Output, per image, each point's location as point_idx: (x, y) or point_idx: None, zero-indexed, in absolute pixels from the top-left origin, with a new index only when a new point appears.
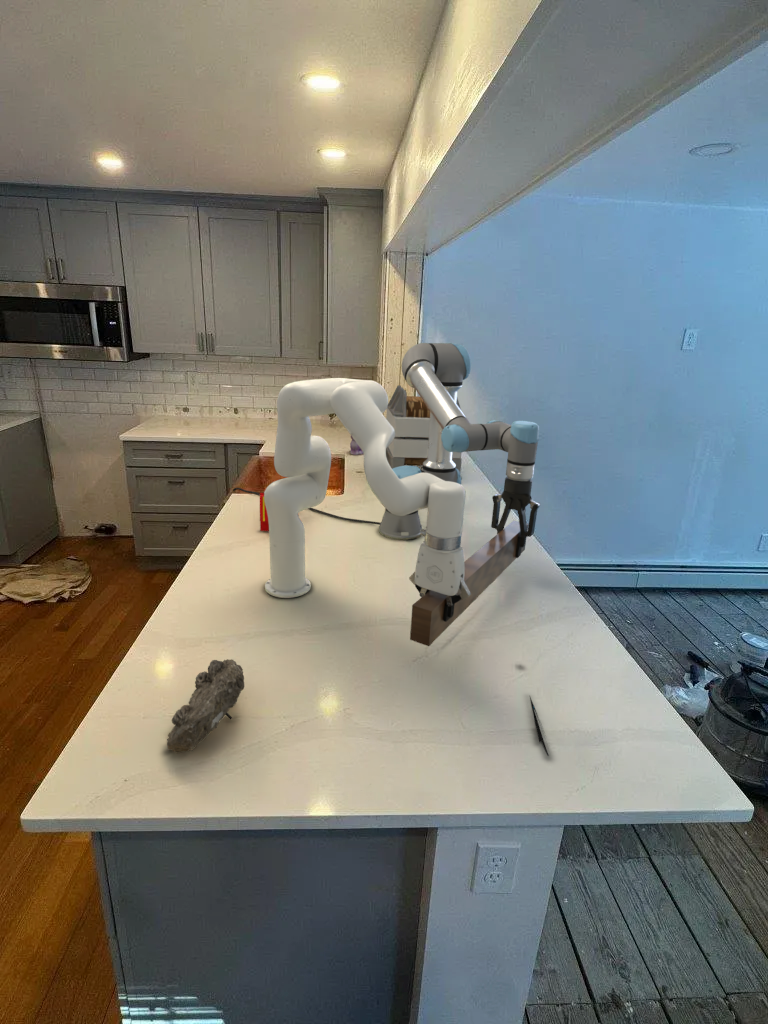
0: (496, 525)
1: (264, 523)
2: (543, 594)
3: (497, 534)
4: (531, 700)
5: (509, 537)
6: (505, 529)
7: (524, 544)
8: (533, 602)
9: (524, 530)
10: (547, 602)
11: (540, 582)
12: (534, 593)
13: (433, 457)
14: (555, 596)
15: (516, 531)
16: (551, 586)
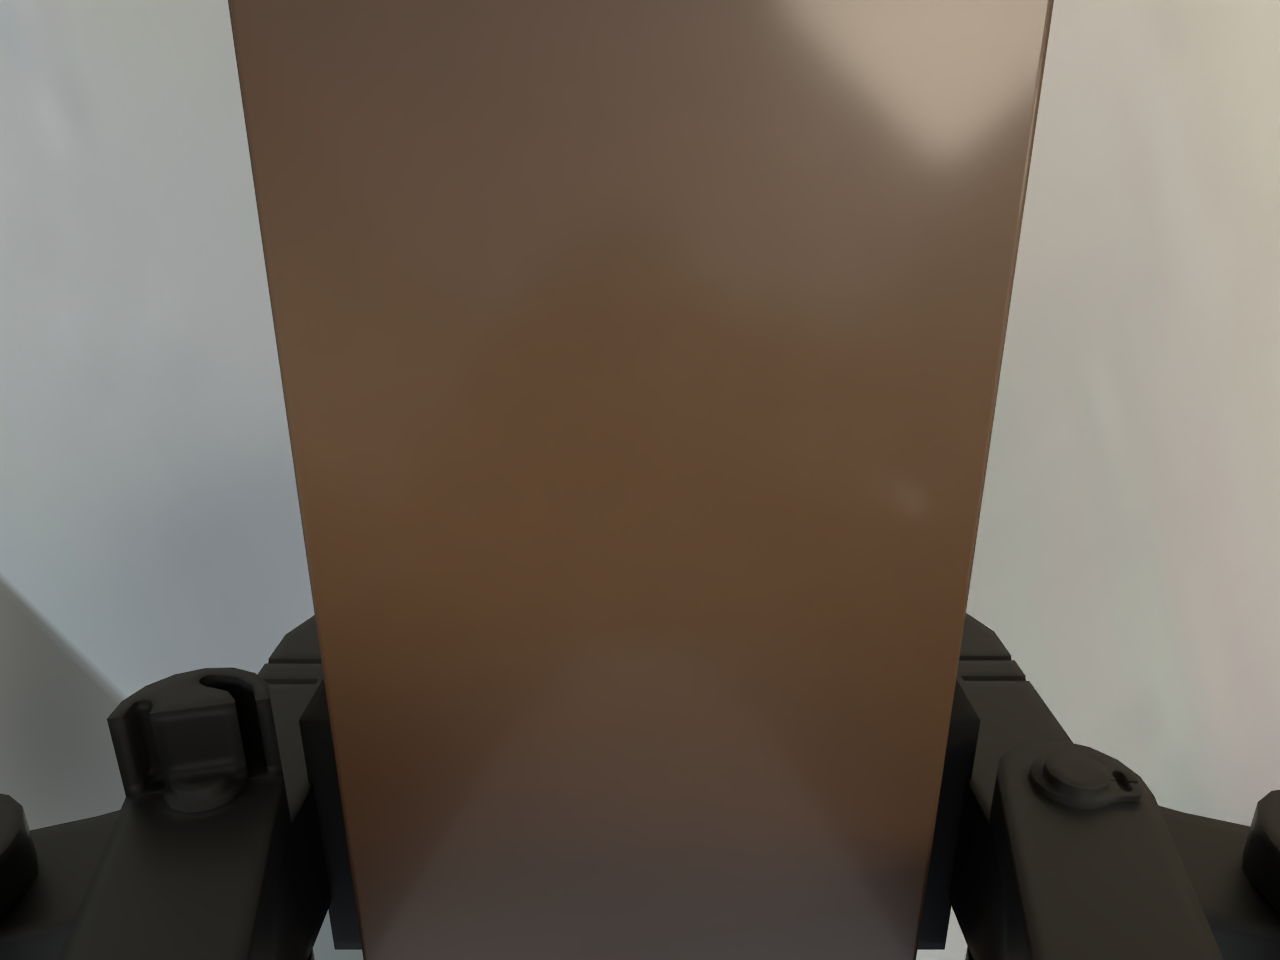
0: (1257, 921)
1: None
2: (143, 321)
3: (1013, 123)
4: None
5: (388, 101)
6: (853, 837)
7: (276, 675)
8: (128, 26)
9: (65, 954)
10: (6, 142)
11: (305, 583)
12: (233, 281)
13: None
14: (19, 355)
15: (452, 885)
16: (172, 561)
